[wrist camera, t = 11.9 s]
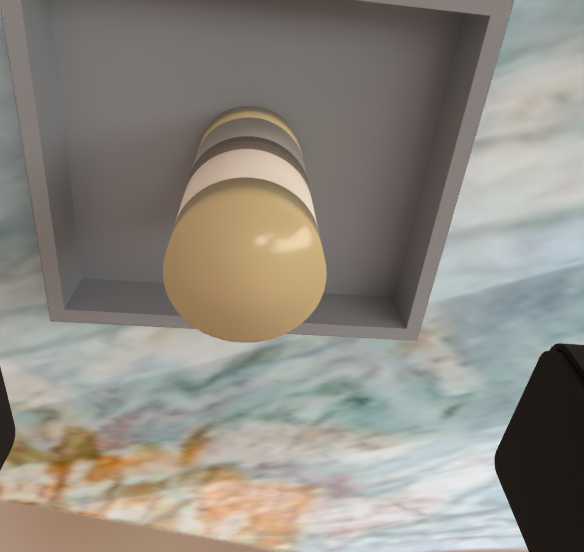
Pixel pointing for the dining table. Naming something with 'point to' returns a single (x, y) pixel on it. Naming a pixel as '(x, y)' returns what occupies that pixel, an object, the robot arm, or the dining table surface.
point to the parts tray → (237, 93)
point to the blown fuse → (246, 232)
